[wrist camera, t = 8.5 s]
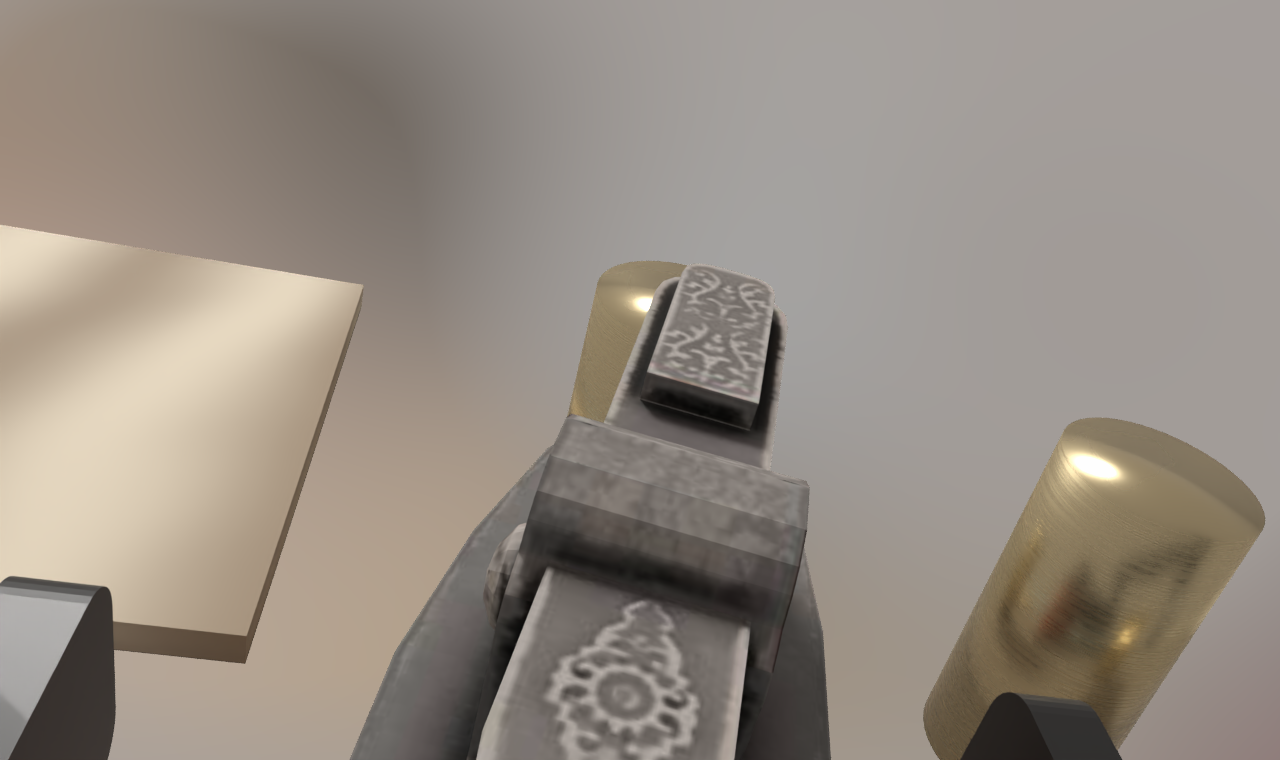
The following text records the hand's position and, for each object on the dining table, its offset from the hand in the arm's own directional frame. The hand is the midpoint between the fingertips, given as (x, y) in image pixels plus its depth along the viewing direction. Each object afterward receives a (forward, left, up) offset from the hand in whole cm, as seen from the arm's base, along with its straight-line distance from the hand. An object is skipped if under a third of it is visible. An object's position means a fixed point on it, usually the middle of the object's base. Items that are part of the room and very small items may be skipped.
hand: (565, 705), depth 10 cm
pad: (+10, -12, -6) cm, 16 cm away
